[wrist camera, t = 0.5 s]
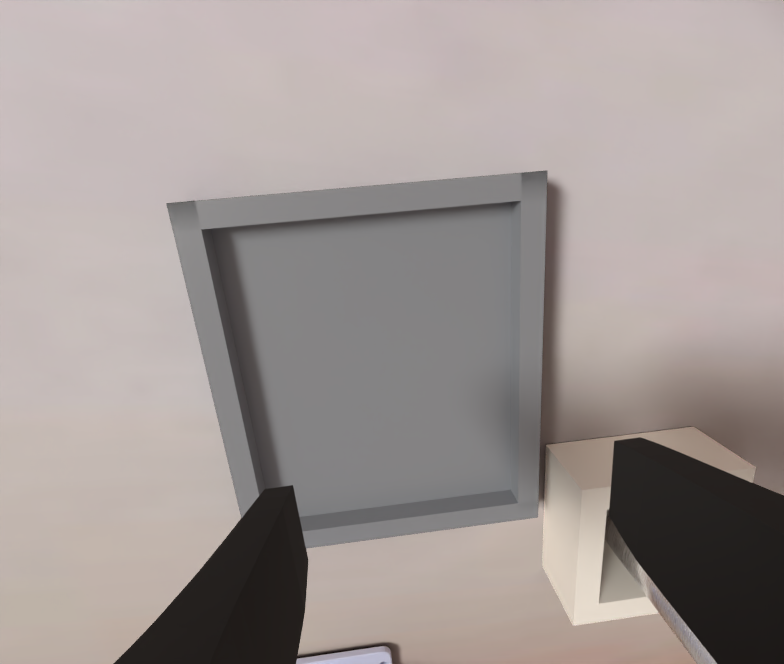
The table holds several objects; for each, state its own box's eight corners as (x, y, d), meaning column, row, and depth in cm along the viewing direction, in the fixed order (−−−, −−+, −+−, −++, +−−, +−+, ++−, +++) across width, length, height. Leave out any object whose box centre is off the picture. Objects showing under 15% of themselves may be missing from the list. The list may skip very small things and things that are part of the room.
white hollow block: (674, 546, 24) (727, 602, 20) (542, 565, 23) (573, 625, 20) (693, 426, 21) (756, 467, 18) (545, 444, 21) (581, 490, 18)
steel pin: (641, 520, 23) (813, 708, 14) (581, 529, 23) (718, 724, 14) (648, 467, 22) (836, 635, 13) (585, 475, 22) (735, 652, 13)
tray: (525, 495, 22) (538, 517, 20) (258, 530, 21) (250, 555, 19) (530, 173, 17) (547, 170, 15) (184, 203, 16) (166, 203, 15)
